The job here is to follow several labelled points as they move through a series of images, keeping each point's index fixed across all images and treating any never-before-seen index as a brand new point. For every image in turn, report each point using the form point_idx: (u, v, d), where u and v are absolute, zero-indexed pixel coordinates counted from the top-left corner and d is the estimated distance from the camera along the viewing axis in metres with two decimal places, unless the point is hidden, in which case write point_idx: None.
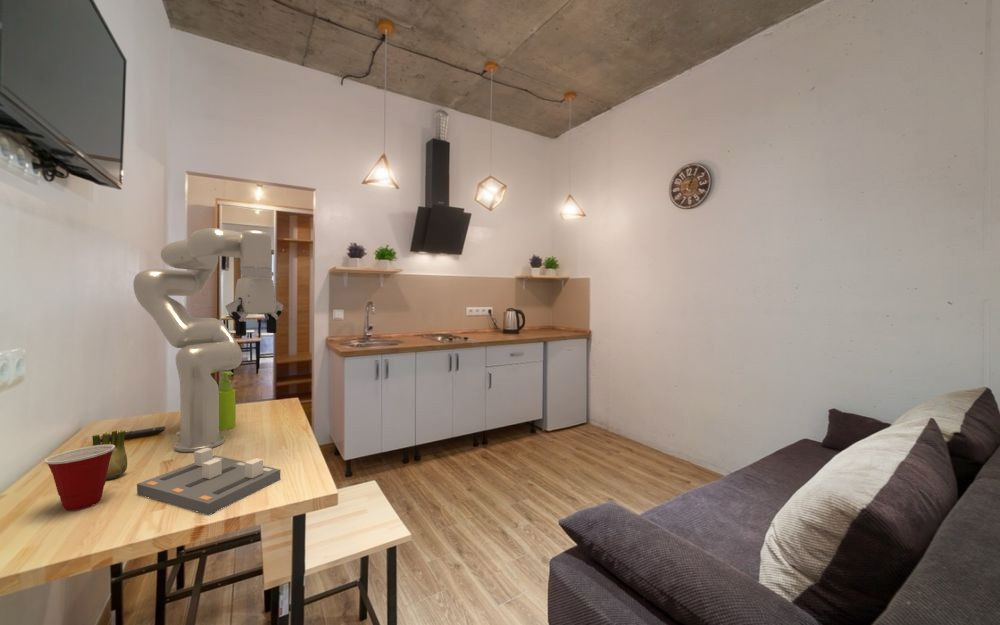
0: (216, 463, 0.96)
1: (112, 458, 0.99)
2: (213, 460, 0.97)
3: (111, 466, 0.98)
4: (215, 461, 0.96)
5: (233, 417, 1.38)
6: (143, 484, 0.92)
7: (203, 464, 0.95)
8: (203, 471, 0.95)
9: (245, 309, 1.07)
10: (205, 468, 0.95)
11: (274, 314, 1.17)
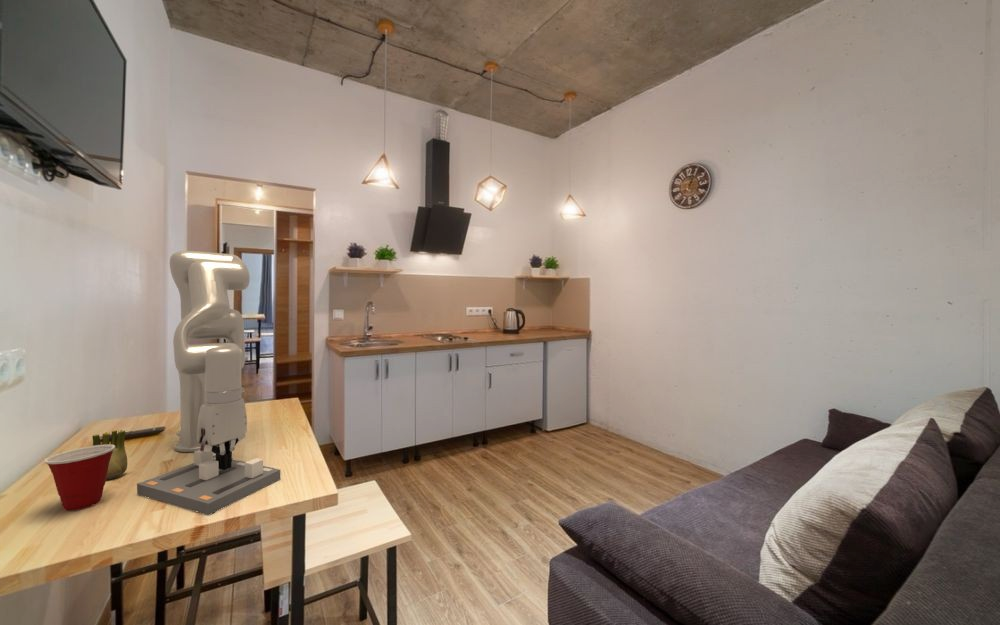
0: (213, 464, 0.95)
1: (112, 458, 0.99)
2: (210, 461, 0.96)
3: (111, 466, 0.98)
4: (212, 463, 0.96)
5: None
6: (143, 484, 0.92)
7: (200, 465, 0.94)
8: (200, 472, 0.95)
9: (209, 442, 0.94)
10: (202, 469, 0.94)
11: (232, 444, 1.00)
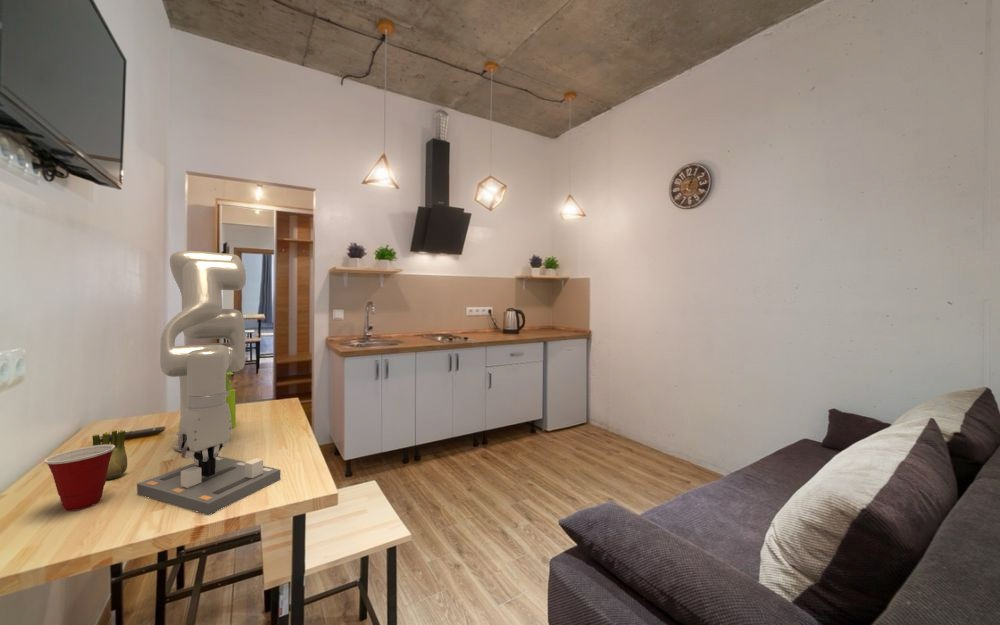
0: (195, 471, 0.92)
1: (112, 458, 0.99)
2: (192, 468, 0.92)
3: (111, 466, 0.98)
4: (195, 469, 0.92)
5: (233, 417, 1.38)
6: (143, 484, 0.92)
7: (181, 472, 0.91)
8: (181, 480, 0.91)
9: (191, 448, 0.90)
10: (183, 476, 0.91)
11: (216, 449, 0.96)
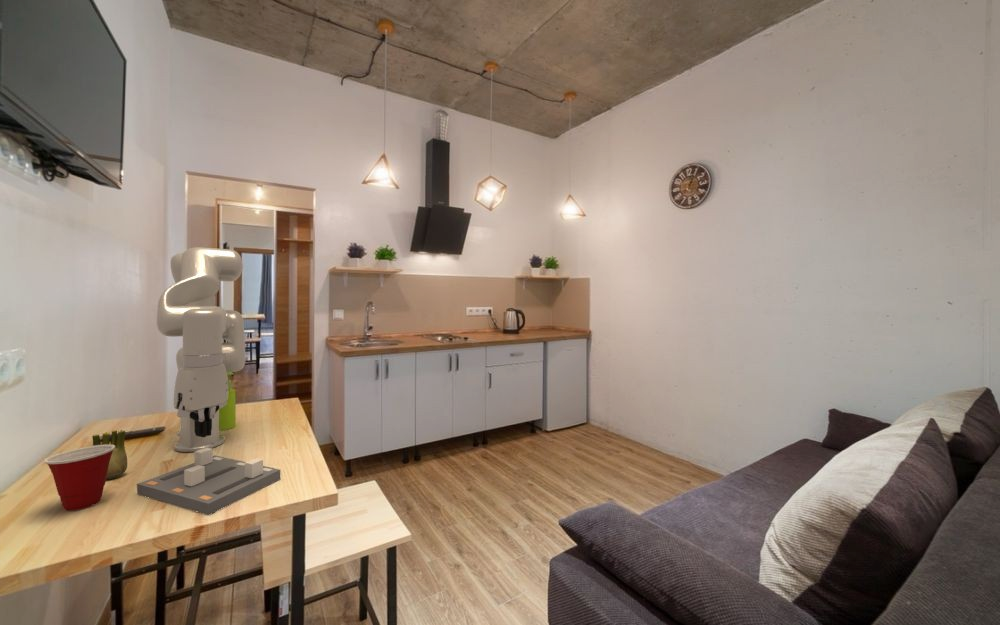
0: (199, 470, 0.92)
1: (112, 458, 0.99)
2: (196, 467, 0.93)
3: (111, 466, 0.98)
4: (198, 468, 0.92)
5: (233, 417, 1.38)
6: (143, 484, 0.92)
7: (185, 471, 0.91)
8: (185, 478, 0.91)
9: (186, 407, 0.89)
10: (187, 475, 0.91)
11: (213, 411, 0.95)
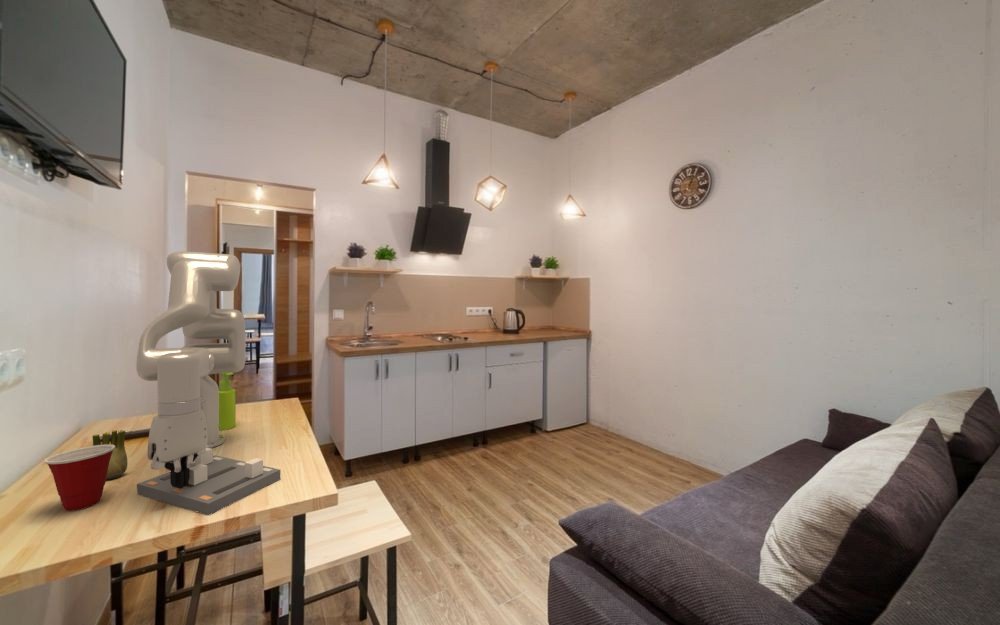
0: (201, 469, 0.93)
1: (112, 458, 0.99)
2: (198, 466, 0.94)
3: (111, 466, 0.98)
4: (201, 467, 0.93)
5: (233, 417, 1.38)
6: (143, 484, 0.92)
7: None
8: None
9: (160, 458, 0.84)
10: (190, 474, 0.92)
11: (190, 459, 0.90)
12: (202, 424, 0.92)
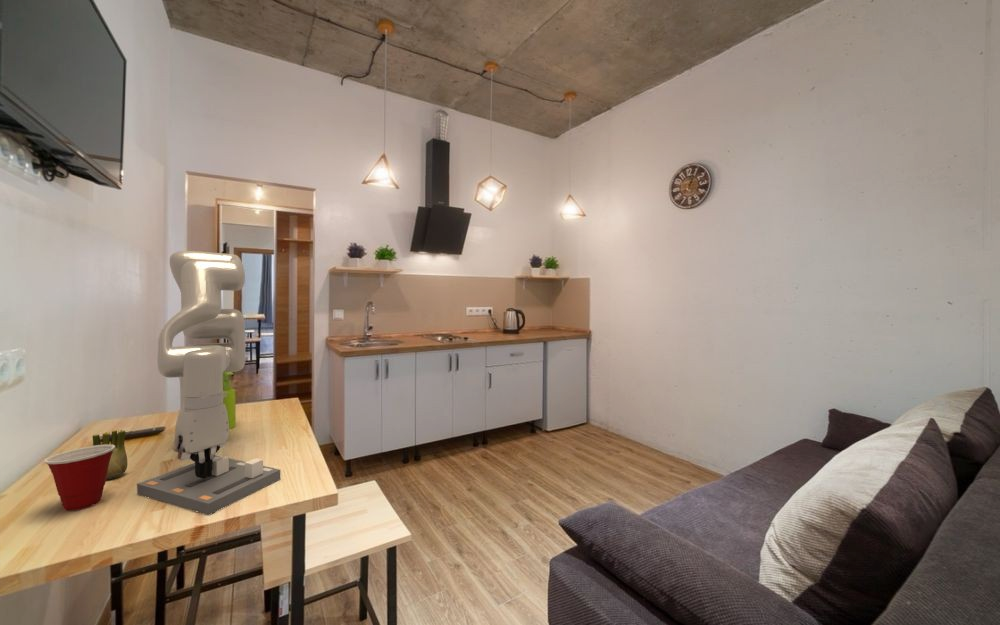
0: (223, 460, 0.98)
1: (112, 458, 0.99)
2: (220, 457, 0.99)
3: (111, 466, 0.98)
4: (223, 459, 0.98)
5: (233, 417, 1.38)
6: (143, 484, 0.92)
7: None
8: None
9: (186, 450, 0.89)
10: (212, 465, 0.97)
11: (213, 451, 0.95)
12: (224, 418, 0.97)
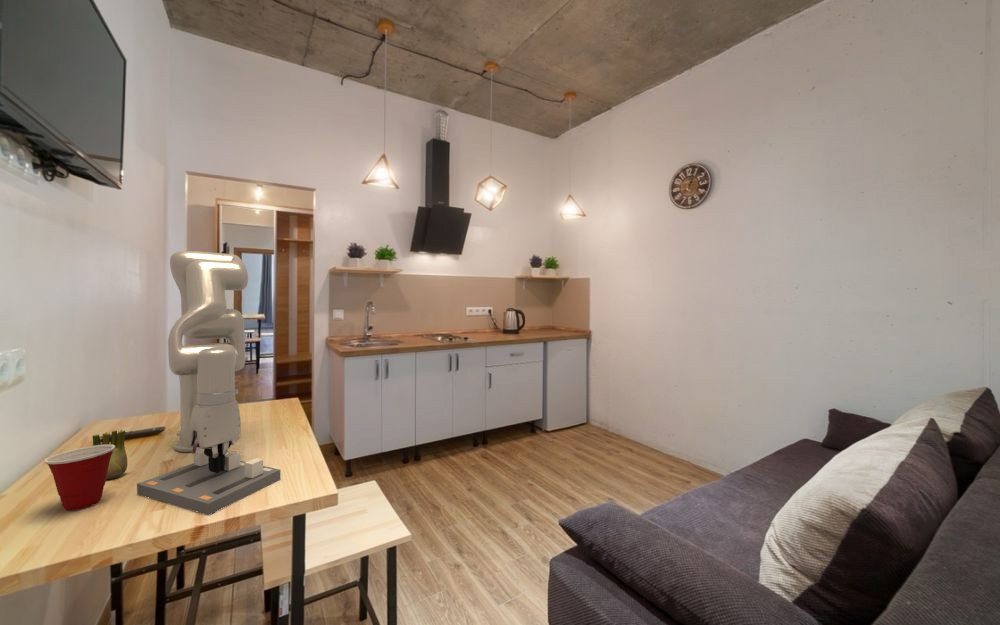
0: (235, 456, 1.01)
1: (112, 458, 0.99)
2: (232, 453, 1.02)
3: (111, 466, 0.98)
4: (234, 454, 1.01)
5: None
6: (143, 484, 0.92)
7: None
8: None
9: (201, 444, 0.92)
10: (225, 460, 1.00)
11: (226, 446, 0.98)
12: (236, 414, 1.00)
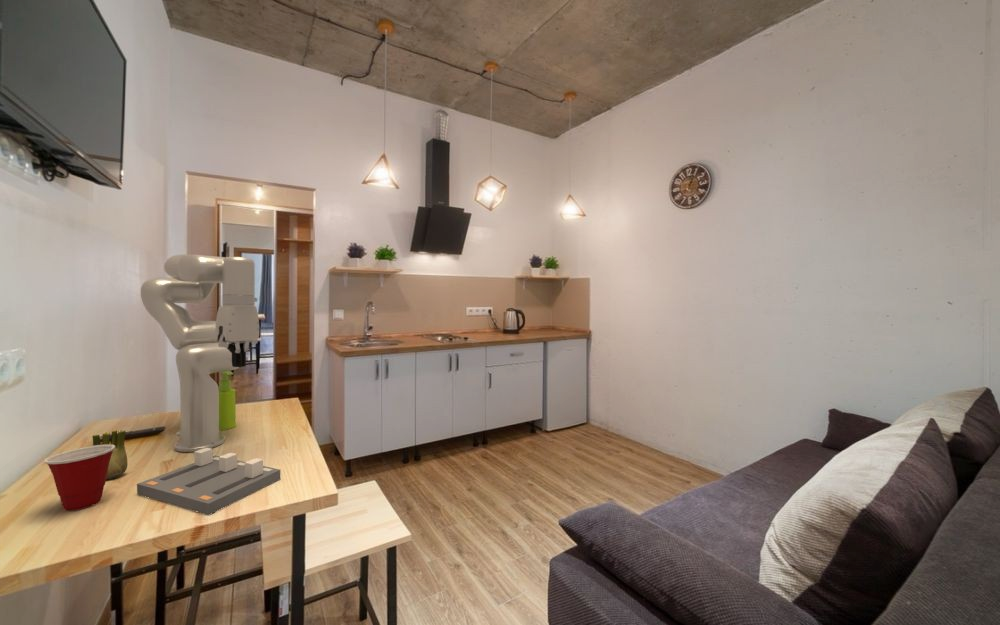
0: (232, 457, 1.00)
1: (112, 458, 0.99)
2: (229, 454, 1.01)
3: (111, 466, 0.98)
4: (232, 455, 1.00)
5: (233, 417, 1.38)
6: (143, 484, 0.92)
7: (220, 458, 0.99)
8: (220, 464, 0.99)
9: (226, 338, 1.05)
10: (222, 462, 0.99)
11: (246, 345, 1.11)
12: (256, 318, 1.13)
